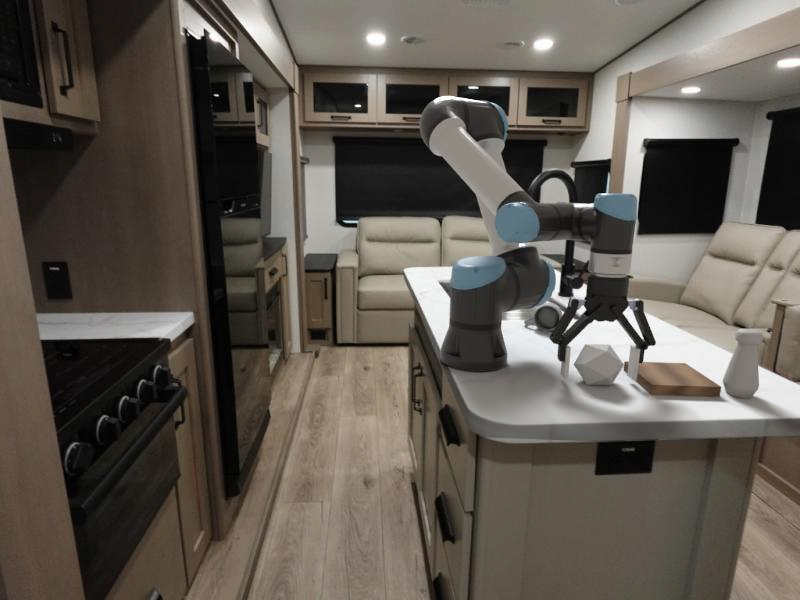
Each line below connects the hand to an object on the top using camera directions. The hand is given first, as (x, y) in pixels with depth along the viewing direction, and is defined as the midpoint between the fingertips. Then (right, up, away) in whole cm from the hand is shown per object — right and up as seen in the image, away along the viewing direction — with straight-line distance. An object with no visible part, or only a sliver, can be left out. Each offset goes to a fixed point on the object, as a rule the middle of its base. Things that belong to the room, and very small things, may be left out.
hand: (597, 377), depth 99 cm
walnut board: (+15, -1, +1) cm, 15 cm away
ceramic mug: (0, +8, +40) cm, 41 cm away
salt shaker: (+26, -3, -4) cm, 26 cm away
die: (0, -1, 0) cm, 1 cm away
